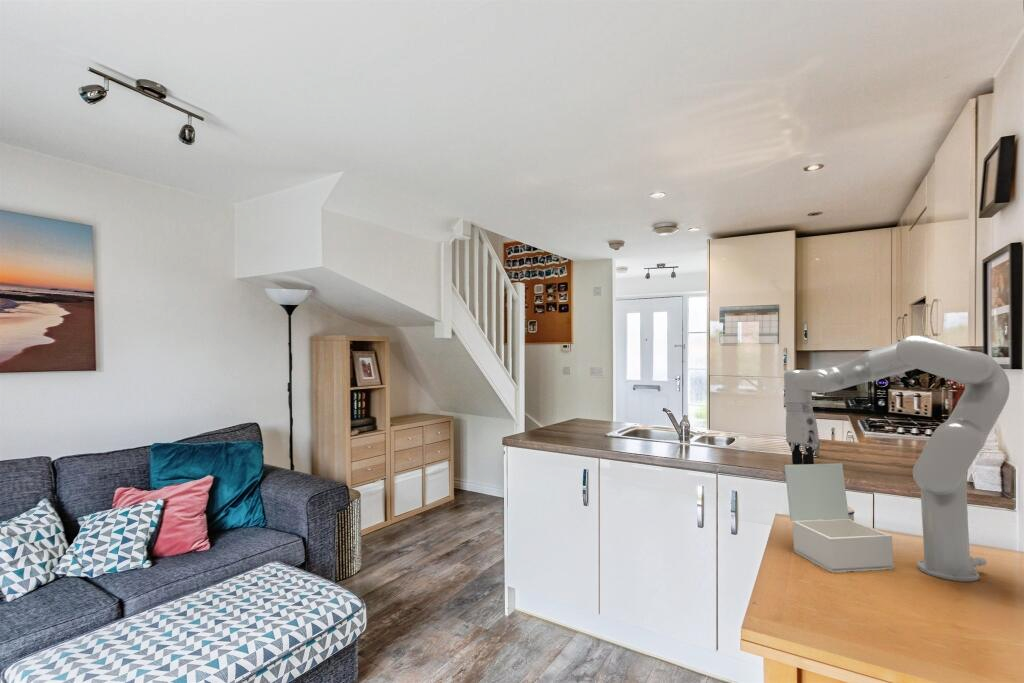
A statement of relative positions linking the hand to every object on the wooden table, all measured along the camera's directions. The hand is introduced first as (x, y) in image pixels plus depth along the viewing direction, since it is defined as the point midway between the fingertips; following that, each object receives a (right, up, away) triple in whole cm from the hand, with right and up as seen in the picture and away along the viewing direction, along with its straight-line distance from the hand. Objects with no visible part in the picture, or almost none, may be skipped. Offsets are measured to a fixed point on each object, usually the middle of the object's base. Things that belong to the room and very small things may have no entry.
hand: (803, 464), depth 164 cm
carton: (+2, -23, -17) cm, 29 cm away
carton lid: (0, -7, -7) cm, 10 cm away
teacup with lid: (+15, -24, +5) cm, 29 cm away
